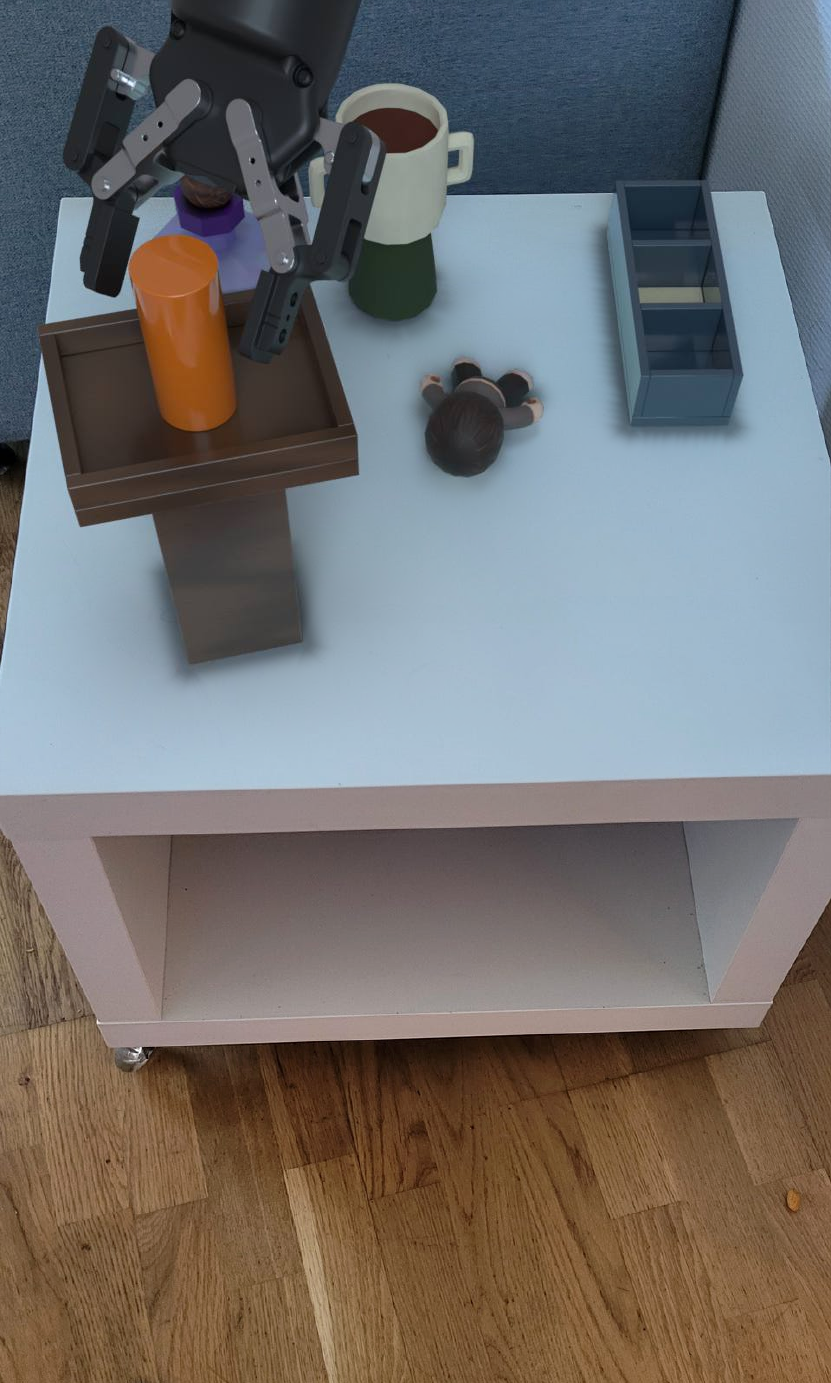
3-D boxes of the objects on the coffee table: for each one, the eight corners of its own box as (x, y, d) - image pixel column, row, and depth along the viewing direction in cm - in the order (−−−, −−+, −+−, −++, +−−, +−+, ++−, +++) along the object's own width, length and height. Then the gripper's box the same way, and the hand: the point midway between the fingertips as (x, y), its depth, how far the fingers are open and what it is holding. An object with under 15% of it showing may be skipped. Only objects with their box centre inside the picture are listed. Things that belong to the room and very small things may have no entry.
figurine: (430, 393, 90) (387, 476, 84) (436, 324, 86) (392, 407, 80) (547, 420, 89) (513, 506, 83) (559, 353, 85) (523, 438, 79)
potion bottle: (141, 326, 91) (106, 164, 80) (244, 274, 93) (224, 110, 82) (210, 400, 88) (184, 243, 77) (314, 344, 90) (303, 185, 79)
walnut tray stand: (326, 519, 84) (308, 278, 67) (366, 657, 79) (358, 435, 63) (108, 561, 82) (36, 324, 66) (137, 704, 78) (67, 489, 61)
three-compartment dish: (696, 234, 95) (709, 179, 91) (728, 426, 87) (743, 375, 84) (606, 234, 95) (615, 180, 91) (630, 426, 87) (641, 376, 83)
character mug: (451, 248, 94) (459, 68, 83) (481, 316, 91) (493, 140, 80) (305, 276, 93) (291, 98, 81) (330, 346, 90) (320, 172, 78)
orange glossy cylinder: (229, 367, 67) (208, 227, 59) (244, 424, 65) (225, 288, 58) (151, 380, 66) (121, 242, 59) (165, 438, 64) (135, 303, 57)
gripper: (96, -161, 53) (1, 258, 59) (403, -54, 50) (271, 374, 56) (188, -83, 59) (94, 286, 65) (463, 16, 57) (339, 391, 63)
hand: (176, 326), depth 61 cm, fingers open, 8 cm apart
